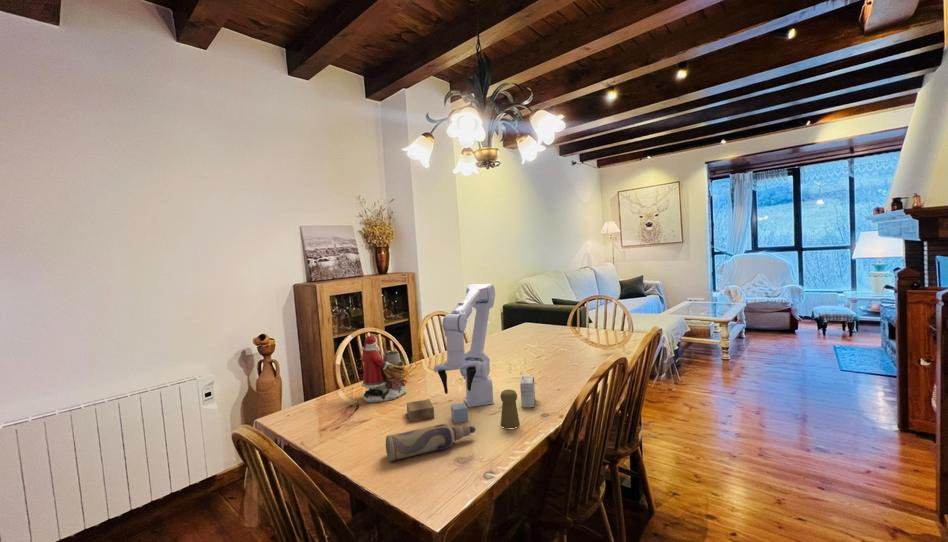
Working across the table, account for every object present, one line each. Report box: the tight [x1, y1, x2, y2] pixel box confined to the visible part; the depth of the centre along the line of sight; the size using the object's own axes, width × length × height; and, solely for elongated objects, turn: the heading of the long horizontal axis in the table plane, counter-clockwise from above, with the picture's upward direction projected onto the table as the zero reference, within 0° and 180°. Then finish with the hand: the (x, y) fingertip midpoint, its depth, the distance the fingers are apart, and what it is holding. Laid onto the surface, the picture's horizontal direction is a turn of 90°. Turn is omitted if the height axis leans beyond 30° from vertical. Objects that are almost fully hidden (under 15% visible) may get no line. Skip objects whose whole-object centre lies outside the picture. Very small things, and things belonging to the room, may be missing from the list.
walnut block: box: [406, 398, 435, 423], centre depth 134 cm, size 8×8×4 cm
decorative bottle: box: [385, 423, 476, 462], centre depth 111 cm, size 26×8×7 cm, turn 112°
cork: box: [500, 389, 521, 429], centre depth 123 cm, size 6×6×11 cm
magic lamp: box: [401, 356, 418, 384], centre depth 170 cm, size 7×18×11 cm, turn 94°
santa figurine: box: [360, 335, 407, 404], centre depth 154 cm, size 17×14×25 cm
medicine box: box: [519, 375, 536, 408], centre depth 140 cm, size 8×4×9 cm, turn 168°
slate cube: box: [450, 402, 469, 424], centre depth 130 cm, size 4×4×4 cm
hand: (457, 391), depth 129 cm, fingers open, 7 cm apart
